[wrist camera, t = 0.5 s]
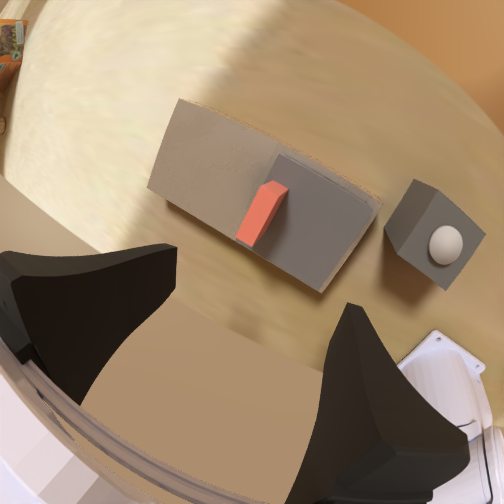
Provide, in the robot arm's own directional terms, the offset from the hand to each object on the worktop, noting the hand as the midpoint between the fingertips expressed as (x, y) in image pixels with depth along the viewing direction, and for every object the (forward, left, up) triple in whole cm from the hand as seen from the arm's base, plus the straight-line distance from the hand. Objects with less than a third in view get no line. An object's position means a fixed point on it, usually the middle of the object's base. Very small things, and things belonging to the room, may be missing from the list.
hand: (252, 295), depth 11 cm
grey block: (-7, -5, -10) cm, 13 cm away
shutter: (0, -1, -7) cm, 7 cm away
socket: (+3, -1, -9) cm, 10 cm away
